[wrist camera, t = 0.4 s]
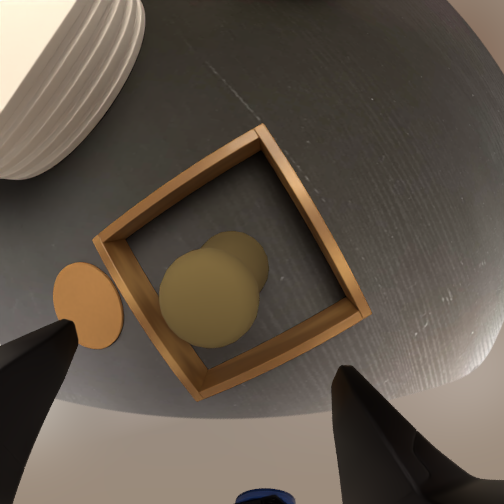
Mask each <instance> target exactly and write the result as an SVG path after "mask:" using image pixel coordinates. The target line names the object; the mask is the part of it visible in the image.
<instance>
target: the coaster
mask: <svg viewBox="0 0 504 504" xmlns="http://www.w3.org/2000/svg"><path fill="white" fill-rule="evenodd" d="M53 301H54V307H55V311H56V314H57V317H58V319H59V320H61V319H68V320H71V321H73V322H74V324H75V327H76V331H77V335H78V339H79V344H81V345H83V346H85V347H87V348H91V349H102V348H105V347H108V346H109V345H111V344H112V343H113V342H114V341H115V340H116V339H117V338H118V336H119V335H120V333H121V330H122V326H123V317H124V315H123V307H122V302H121V299H120V296H119V293H118V291H117V289H116V287H115V286H114V284H113V282H112V281H111V280H110V278H109V277H108V276H107V275H106V274H105V273H104V272H103V271H102V270H100V269H99V268H97V267H96V266H94V265H91V264H89V263H84V262H77V263H73V264H70V265H68V266H66V267H65V268H64V269H63V270H62V271H61V272H60V273H59V275H58V277H57V279H56V281H55V284H54V290H53Z"/></svg>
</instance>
